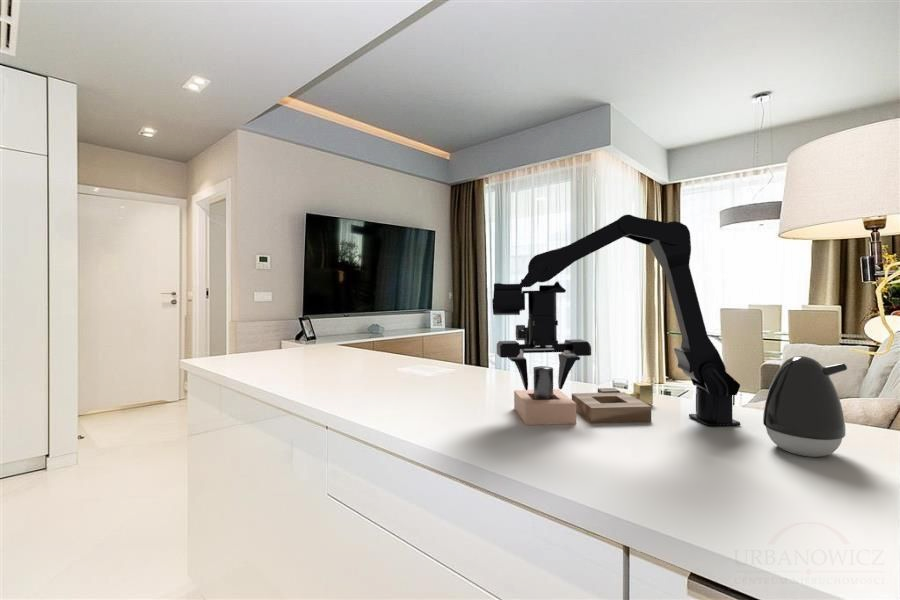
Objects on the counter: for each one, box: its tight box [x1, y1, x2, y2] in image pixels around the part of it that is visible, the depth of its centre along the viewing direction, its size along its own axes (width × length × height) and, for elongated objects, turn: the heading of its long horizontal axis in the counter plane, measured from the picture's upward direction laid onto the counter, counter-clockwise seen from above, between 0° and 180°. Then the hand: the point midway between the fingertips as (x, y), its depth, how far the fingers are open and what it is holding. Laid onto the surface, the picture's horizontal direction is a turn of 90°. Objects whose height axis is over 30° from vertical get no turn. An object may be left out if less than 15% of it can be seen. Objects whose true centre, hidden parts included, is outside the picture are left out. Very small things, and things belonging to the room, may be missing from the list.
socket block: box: [571, 387, 652, 424], centre depth 92 cm, size 15×12×3 cm
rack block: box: [513, 388, 577, 426], centre depth 91 cm, size 12×10×4 cm
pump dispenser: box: [762, 355, 848, 458], centre depth 69 cm, size 10×10×15 cm
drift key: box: [626, 381, 654, 405], centre depth 99 cm, size 3×11×4 cm, turn 92°
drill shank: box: [533, 365, 554, 400], centre depth 90 cm, size 4×4×10 cm
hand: (543, 389), depth 90 cm, fingers open, 7 cm apart
